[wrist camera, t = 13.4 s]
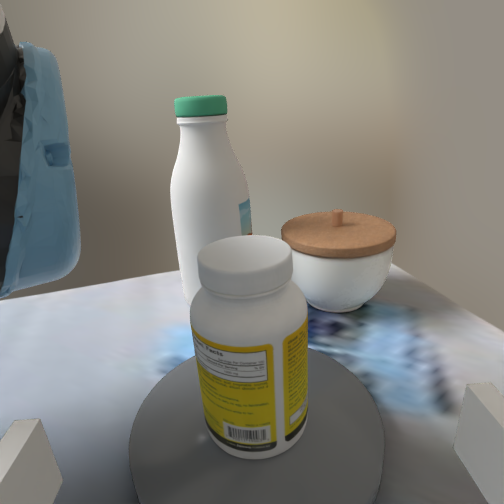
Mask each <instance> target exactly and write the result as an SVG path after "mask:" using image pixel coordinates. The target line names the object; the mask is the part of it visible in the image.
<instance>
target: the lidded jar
mask: <svg viewBox="0 0 504 504" xmlns="http://www.w3.org/2000/svg"><path fill="white" fill-rule="evenodd" d="M281 235H282V240H283V241H285V242H286V243H287V244H288V245H289V246H290V247H291V249H292V259H293V274H292V278H291V280H292V281H293V282H294V283H295V284H296V285H297V286H298V287H299V288H300V289H301V291H302V292H303V294H304V296H305V299H306V301H307V302H308V303H309V304H310V305H311V306H313V307H314V308H316V309H319V310H322V311H326V312H333V313H343V312H350V311H353V310H356V309H358V308H360V307H361V306H362V305H363V304H364V302H366V301H368V300H369V299H371V298H372V297H373V296H374V295H375V294H376V293H377V292H378V291H379V290H380V289H381V287H382V286H383V284H384V282H385V280H386V278H387V275H388V273H389V270H390V266H391V262H392V256H393V246H394V243H395V240H396V229H395V227H394V226H393V225H392V224H391V223H389V222H388V221H386V220H384V219H381V218H378V217H375V216H371V215H367V214H361V213H354V212H343V210H341V209H334V210H332V212H318V213H311V214H306V215H302V216H298V217H295V218H293V219H291V220H289V221H288V222H286V223H285V224H284V225H283V226H282V229H281Z"/></svg>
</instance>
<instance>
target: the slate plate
mask: <svg viewBox="0 0 504 504" xmlns="http://www.w3.org/2000/svg"><path fill="white" fill-rule="evenodd" d="M384 450H385V440H384V429H383V424H382V420H381V416H380V414H379V411H378V409H377V406H376V404H375V402H374V400H373V398H372V397H371V395H370V393H369V392H368V391H367V389H366V388H365V386H364V385H363V384H362V383H361V382H360V381H359V379H358V378H357V377H356V376H355V375H354V374H353V373H351V372H350V371H349V370H348V369H347V368H345V367H344V366H343V365H341V364H340V363H338V362H337V361H335V360H334V359H332V358H330V357H328V356H326V355H325V354H323V353H320V352H318V351H316V350H313V349H311V348H308V416H307V423H306V426H305V429H304V431H303V434H302V435H301V437H300V438H299V440H298V441H297V442H296V443H295V444H294V445H293V446H292V447H290V448H289V449H288V450H286V451H285V452H283V453H281V454H279V455H276V456H273V457H270V458H265V459H243V458H239V457H236V456H233V455H231V454H228V453H227V452H225V451H224V450H223V449H221V448H220V447H219V446H218V445H217V444H216V443H215V442H214V440H213V439H212V437H211V436H210V434H209V432H208V429H207V425H206V421H205V416H204V409H203V402H202V396H201V389H200V383H199V376H198V369H197V363H196V356H193V357H191V358H190V359H188V360H186V361H185V362H183V363H181V364H180V365H178V366H177V367H176V368H174V369H173V370H171V371H170V372H169V373H168V374H167V375H166V376H164V377H163V378H162V379H161V380H160V381H159V382H158V383H157V384H156V386H155V387H154V388H153V389H152V390H151V392H150V393H149V394H148V396H147V397H146V398H145V400H144V402H143V403H142V405H141V407H140V409H139V411H138V413H137V415H136V418H135V420H134V423H133V427H132V431H131V435H130V442H129V462H130V469H131V473H132V477H133V481H134V485H135V489H136V492H137V496H138V500H139V503H140V504H373V503H374V501H375V499H376V496H377V493H378V489H379V486H380V483H381V475H382V467H383V458H384Z"/></svg>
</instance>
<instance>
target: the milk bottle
mask: <svg viewBox="0 0 504 504" xmlns="http://www.w3.org/2000/svg"><path fill="white" fill-rule="evenodd" d="M174 102H175V103H174V104H175V113H176V116H177V117H178V118H177V124H178V125H179V126H180V131H181V139H180V146H179V152H178V156H177V160H176V163H175V166H174V170H173V173H172V179H171V188H170V191H171V206H172V216H173V223H174V231H175V238H176V245H177V252H178V259H179V265H180V273H181V279H182V286H183V292H184V297H185V300H186V301H187V303H188V304H189V305H190V306H191V303H192V300H193V298H194V296H195V295H196V293H197V292H198V291H199V289H200V288H201V287H202V286H201V283H200V279H199V275H198V263H197V256H198V253H199V251H200V250H201V249H202V248H203V247H205V246H206V245H208V244H210V243H212V242H215V241H218V240H221V239H225V238H229V237H235V236H244V235H252V225H251V210H250V200H249V190H248V185H247V181H246V177H245V174H244V171H243V169H242V167H241V165H240V163H239V161H238V159H237V157H236V155H235V153H234V152H233V149H232V147H231V144H230V141H229V139H228V135H227V131H226V122H227V121H228V119H227V115H226V114H227V101H226V97H225V96H222V95H210V96H193V97H181V98H177V99H175V101H174Z"/></svg>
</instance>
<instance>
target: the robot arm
mask: <svg viewBox="0 0 504 504" xmlns="http://www.w3.org/2000/svg"><path fill="white" fill-rule="evenodd" d="M70 153H71V150H70V143H69V137H68V123H67V116H66V109H65V101H64V96H63V89H62V83H61V77H60V72H59V67H58V63H57V60H56V58H55V57H54V55H53V54H52V53H51V52H50V51H48V50H47V49H44V48H38V47H35V46H34V45H32V44H31V43H27V42H20V44H19V45H17V46H15V44H14V43H13V39H12V36H11V33H10V30H9V27H8V24H7V21H6V18H5V15H4V12H3V9H2V6H1V3H0V298H3V297H6V296H8V295H9V294H10V293H11V292H12V291H16V290H20V289H23V288H27V287H31V286H35V285H38V284H42V283H46V282H50V281H53V280H57V279H60V278H62V277H64V276H65V275H67V274H68V273H69V272H70V271H71V270H72V269H73V268H74V267H75V265H76V264H77V262H78V260H79V257H80V251H81V241H80V225H79V214H78V205H77V197H76V187H75V180H74V172H73V166H72V161H71V158H70ZM453 449H454V450H455V452H456V453H457V455H458V457H459V458H460V460H461V461H462V463H463V464H464V466H465V467H466V469H467V471H468V472H469V474H470V475H471V477H472V478H473V480H474V482H475V483H476V485H477V486H478V488H479V489H480V491H481V493H482V494H483V496H484V497H485V499H486V500H487V502H488V504H504V396H503V395H502V394H501V393H500V392H499V391H498V389H497V388H496V387H495V386H494V385H493V384H492V383H491V382H490V383H477V384H467V385H466V390H465V395H464V399H463V404H462V409H461V413H460V418H459V422H458V427H457V432H456V436H455V441H454V446H453ZM62 482H63V478H62V476H61V473H60V470H59V468H58V465H57V462H56V460H55V457H54V454H53V452H52V449H51V446H50V444H49V441H48V438H47V436H46V433H45V430H44V428H43V425H42V422H41V420H40V419H27V420H15V421H14V422H13V423H12V425H11V426H10V428H9V429H8V431H7V432H6V434H5V435H4V436H3V438H2V439H1V441H0V504H53V502H54V500H55V498H56V496H57V494H58V491H59V489H60V487H61V485H62Z"/></svg>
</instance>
